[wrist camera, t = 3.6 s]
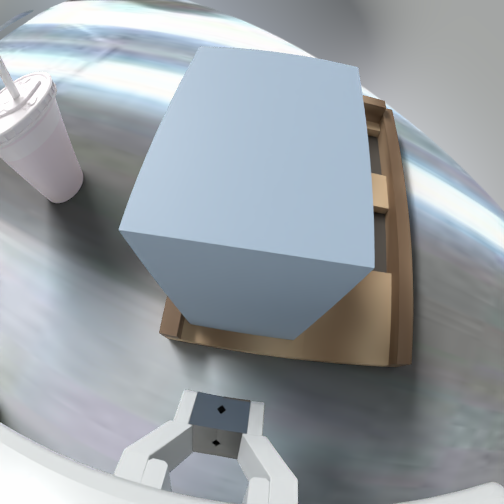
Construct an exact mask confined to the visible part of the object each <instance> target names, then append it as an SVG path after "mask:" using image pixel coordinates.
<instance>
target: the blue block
mask: <svg viewBox="0 0 504 504" xmlns="http://www.w3.org/2000/svg"><path fill="white" fill-rule="evenodd" d="M119 231H120V233H121V234H122V236H123V237H124V238H125V240H126V241H127V243H128V244H129V245H130V247H131V248H132V249H133V251H134V252H135V254H136V255H137V256H138V258H139V259H140V260H141V262H142V263H143V264H144V266H145V267H146V268H147V270H148V271H149V272H150V274H151V275H152V276H153V278H154V279H155V280H156V282H157V283H158V284H159V286H160V287H161V288H162V289H163V291H164V292H165V293H166V295H167V296H168V297H169V298H170V300H171V301H172V302H173V303H174V305H175V306H176V307H177V308H178V310H179V311H180V312H181V313H182V315H183V316H184V317H185V318H186V319H187V321H188V322H189V323H190V324H192V325H198V326H203V327H209V328H215V329H220V330H226V331H233V332H239V333H245V334H252V335H259V336H266V337H273V338H280V339H288V340H294V339H296V338H297V337H298V336H299V335H300V334H301V333H303V332H304V331H305V330H306V329H307V328H309V327H310V326H311V325H312V324H313V323H314V322H316V321H317V320H318V319H319V318H320V317H321V316H323V315H324V314H325V313H326V312H327V311H328V310H329V309H331V308H332V307H333V306H334V305H335V304H336V303H337V302H338V301H340V300H341V299H342V298H343V297H344V296H345V295H346V294H347V293H348V292H349V291H351V290H352V289H353V288H354V287H355V286H356V285H357V284H358V283H359V282H360V281H361V280H362V279H364V278H365V277H366V276H367V275H368V274H369V273H370V272H371V271H372V270H373V269H374V268H375V254H374V213H373V193H372V178H371V165H370V154H369V143H368V134H367V125H366V117H365V109H364V102H363V95H362V89H361V83H360V76H359V71H358V67H355V66H350V65H346V64H341V63H337V62H332V61H327V60H322V59H317V58H311V57H305V56H299V55H293V54H286V53H279V52H271V51H262V50H252V49H241V48H227V47H205V46H200V47H199V49H198V51H197V52H196V54H195V56H194V58H193V60H192V62H191V63H190V65H189V67H188V69H187V71H186V73H185V75H184V77H183V78H182V80H181V82H180V84H179V86H178V88H177V90H176V92H175V94H174V96H173V98H172V100H171V102H170V104H169V106H168V109H167V111H166V113H165V115H164V117H163V119H162V121H161V124H160V126H159V128H158V130H157V132H156V135H155V137H154V139H153V141H152V144H151V146H150V148H149V151H148V153H147V155H146V158H145V160H144V163H143V165H142V168H141V170H140V172H139V175H138V178H137V180H136V183H135V185H134V188H133V190H132V193H131V196H130V198H129V201H128V204H127V207H126V209H125V212H124V215H123V218H122V221H121V224H120V227H119Z"/></svg>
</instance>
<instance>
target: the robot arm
mask: <svg viewBox="0 0 504 504" xmlns="http://www.w3.org/2000/svg"><path fill="white" fill-rule="evenodd" d="M264 408H265V404H264V402H257V401H250V400H243V399H236V398H229V397H221V396H216V395H211V394H206V393H202V392H196V391H192V390H187V389H185V390H184V391H183V394H182V396H181V399H180V402H179V405H178V408H177V411H176V414H175V417H174V420H173V421H172V420H169V421H167V422H166V423H164V424H163V425H161V426H160V427H158V428H157V429H155V430H154V431H152V432H151V433H149V434H147V435H146V436H144V437H143V438H141V439H140V440H138V441H136V442H135V443H133V444H132V445H130V446H128V447H127V448H125V449H124V451H123V454H122V456H121V458H120V461H119V463H118V465H117V468H116V470H115V473H114V475H112V474H109V473H106V472H103V471H101V470H98V469H95V468H93V467H90V466H88V465H85V464H83V463H80V462H78V461H75V460H73V459H71V458H68V457H66V456H64V455H62V454H59V453H57V452H55V451H53V450H51V449H49V448H47V447H45V446H43V445H41V444H39V443H37V442H35V441H33V440H31V439H29V438H27V437H25V436H23V435H21V434H20V433H18V432H16V431H14V430H13V429H11V428H9V427H7V426H6V425H4V424H2V423H1V422H0V504H235V503H227V502H221V501H215V500H209V499H203V498H198V497H193V496H188V495H183V494H179V493H174V492H172V489H171V483H170V476H169V473H170V472H171V471H172V470H173V469H174V468H176V467H177V466H178V465H179V464H180V463H181V462H182V461H184V460H185V459H186V458H187V457H188V456H189V455H190V454H192V451H193V452H198V453H204V454H211V455H217V456H222V457H228V458H233V459H237V461H238V463H239V465H240V467H241V469H242V470H243V472H244V474H245V476H246V478H247V480H248V482H249V484H248V487H247V490H246V493H245V496H244V499H243V502H242V504H298V480H297V478H296V477H295V476H294V474H293V473H292V472H291V470H290V469H289V467H288V466H287V465H286V463H285V462H284V461H283V459H282V458H281V456H280V455H279V454H278V452H277V451H276V449H275V448H274V447H273V445H272V444H271V442H270V441H269V440H268V438H267V437H265V436H263V423H264ZM395 504H504V487H503V486H501V485H500V484H498V483H496V482H489V483H485V484H482V485H478V486H475V487H472V488H468V489H464V490H461V491H457V492H453V493H449V494H444V495H440V496H435V497H430V498H425V499H420V500H414V501H408V502H402V503H395Z"/></svg>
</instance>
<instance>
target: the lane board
mask: <svg viewBox="0 0 504 504" xmlns="http://www.w3.org/2000/svg"><path fill="white" fill-rule="evenodd" d="M363 102H364V109H365V117H366V125H367V134H368V143H369V154H370V165H371V178H372V193H373V213H374V254H375V268H374V269H373V270H372V271H371V272H370V273H369V274H368V275H367V276H366V277H365V278H364V279H362V280H361V281H360V282H359V283H358V284H357V285H356V286H355V287H354V288H353V289H352V290H351V291H349V292H348V293H347V294H346V295H345V296H344V297H343V298H342V299H341V300H340V301H338V302H337V303H336V304H335V305H334V306H333V307H332V308H331V309H329V310H328V311H327V312H326V313H325V314H324V315H323V316H321V317H320V318H319V319H318V320H317V321H316V322H314V323H313V324H312V325H311V326H310V327H309V328H307V329H306V330H305V331H304V332H303V333H301V334H300V335H299V336H298V337H297V338H296V339H294V340H288V339H280V338H273V337H266V336H259V335H252V334H245V333H239V332H233V331H226V330H220V329H215V328H209V327H203V326H198V325H192V324H190V323H189V322H188V321H187V319H186V318H185V317H184V316H183V315H182V313H181V312H180V311H179V310H178V308H177V307H176V306H175V305H174V303H173V302H172V301H171V300H170V298H169V297H168V296H167V299H166V303H165V308H164V312H163V317H162V322H161V326H160V331H159V333H160V334H162V335H163V336H165V337H166V338H168V339H172V340H177V341H182V342H187V343H193V344H198V345H203V346H209V347H215V348H220V349H226V350H233V351H239V352H245V353H252V354H259V355H266V356H273V357H281V358H289V359H298V360H307V361H317V362H327V363H338V364H351V365H365V366H383V367H399V366H404V365H410V364H411V360H412V340H413V271H412V251H411V236H410V224H409V213H408V204H407V195H406V187H405V180H404V173H403V166H402V160H401V154H400V148H399V142H398V137H397V132H396V127H395V122H394V117H393V112H392V110H390V109H386V105H385V101H383V100H379V99H376V98H372V97H368V96H364V95H363Z"/></svg>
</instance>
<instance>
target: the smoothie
mask: <svg viewBox="0 0 504 504" xmlns="http://www.w3.org/2000/svg"><path fill="white" fill-rule="evenodd" d="M0 76H1V78H2V80H3V82H4V84H5V86H6V87H5V88H3V89H2V90H1V91H0V158H1V159H2V160H4V161H5V162H6V163H7V164H8V165H9V166H10V167H11V168H13V169H14V170H15V171H16V172H17V173H18V174H19V175H20V176H22V177H23V178H24V179H25V180H26V181H27V182H29V183H30V184H31V185H32V186H33V187H34V188H36V189H37V190H38V191H39V192H40V193H41V194H43V195H44V196H45V197H46V198H47V199H49V200H50V201H51V202H53V203H62V202H65V201H67V200H69V199H70V198H72V197H73V196H74V195H75V194H76V193H77V192H78V191H79V189H80V187H81V185H82V183H83V173H82V170H81V168H80V165H79V163H78V160H77V158H76V155H75V153H74V150H73V147H72V145H71V142H70V139H69V136H68V134H67V131H66V128H65V125H64V122H63V120H62V117H61V114H60V110H59V107H58V105H57V102H56V99H55V96H56V92H57V89H56V84H55V83H54V82H53V80H52V78H51V76H50V75H49V74H48V73H46V72H35V73H31V74H27V75H25V76H23V77H21V78H19V79H17V80H15V81H13V80H12V78H11V76H10V74H9V72H8V71H7V69H6V67H5V65H4V63H3V61H2V59H1V57H0Z"/></svg>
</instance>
